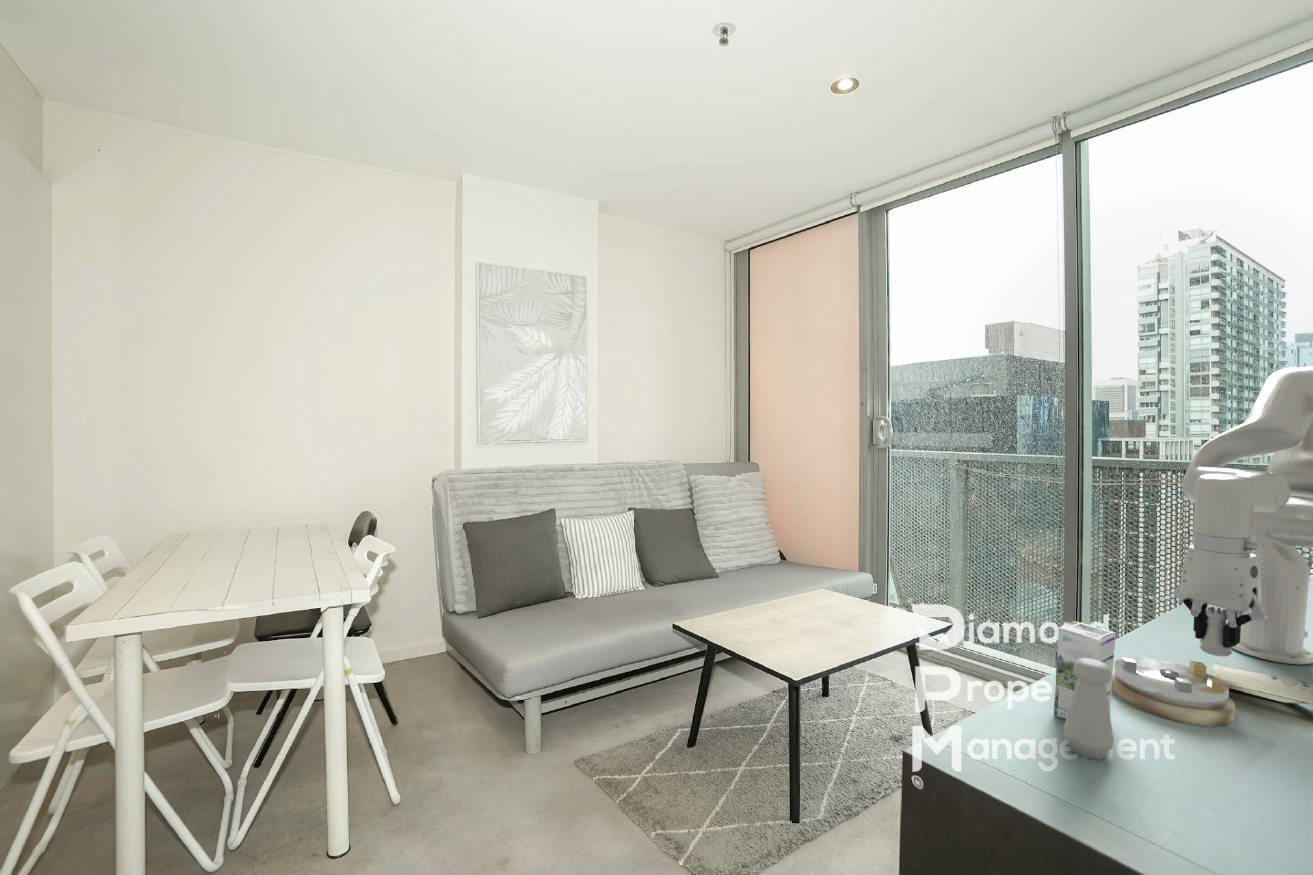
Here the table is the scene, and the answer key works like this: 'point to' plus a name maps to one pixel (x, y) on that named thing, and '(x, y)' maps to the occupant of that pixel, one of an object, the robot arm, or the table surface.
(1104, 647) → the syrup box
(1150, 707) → the tan flat disc
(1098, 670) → the salt shaker
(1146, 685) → the white round board
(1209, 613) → the rook chess piece
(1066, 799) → the table surface
